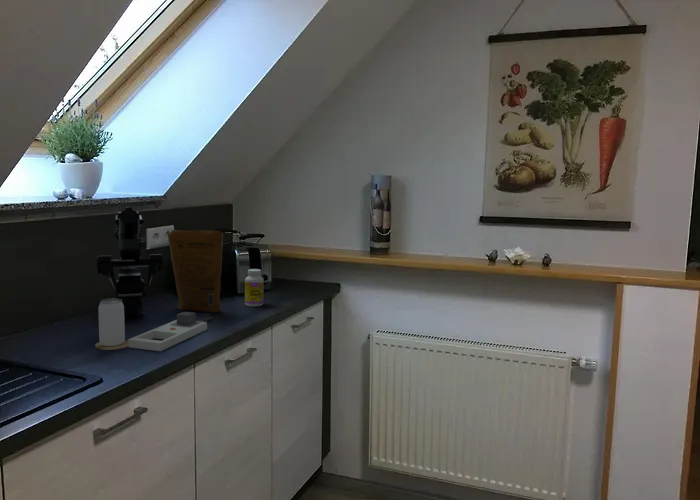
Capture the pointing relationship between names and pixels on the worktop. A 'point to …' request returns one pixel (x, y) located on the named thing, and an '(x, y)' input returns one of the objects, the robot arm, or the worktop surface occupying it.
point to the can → (111, 322)
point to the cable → (208, 319)
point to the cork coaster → (113, 346)
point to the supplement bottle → (254, 288)
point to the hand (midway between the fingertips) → (131, 286)
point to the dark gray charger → (186, 318)
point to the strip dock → (166, 335)
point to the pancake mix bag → (197, 268)
